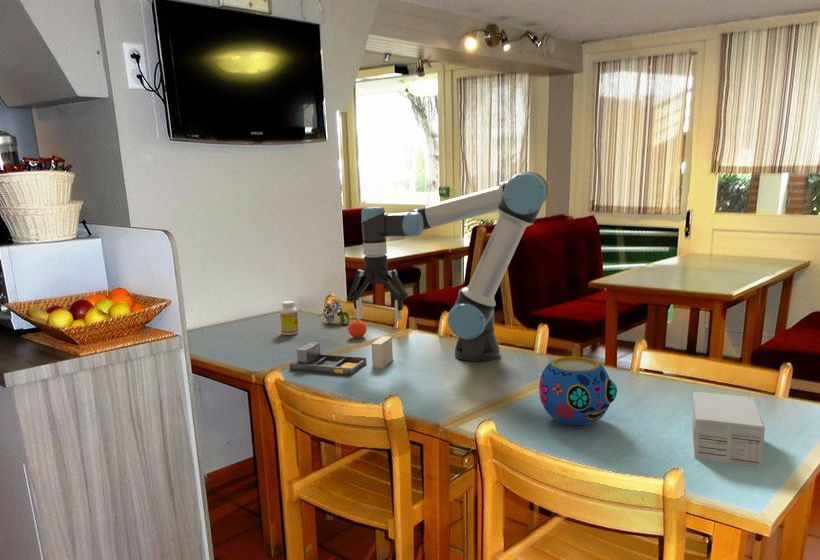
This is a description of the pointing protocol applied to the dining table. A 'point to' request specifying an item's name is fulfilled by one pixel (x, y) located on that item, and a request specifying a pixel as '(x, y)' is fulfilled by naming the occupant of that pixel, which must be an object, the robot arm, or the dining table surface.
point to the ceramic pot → (576, 390)
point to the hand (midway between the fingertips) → (378, 319)
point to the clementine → (357, 328)
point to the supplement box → (727, 429)
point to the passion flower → (335, 312)
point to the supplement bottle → (289, 318)
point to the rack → (325, 361)
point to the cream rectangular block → (382, 351)
